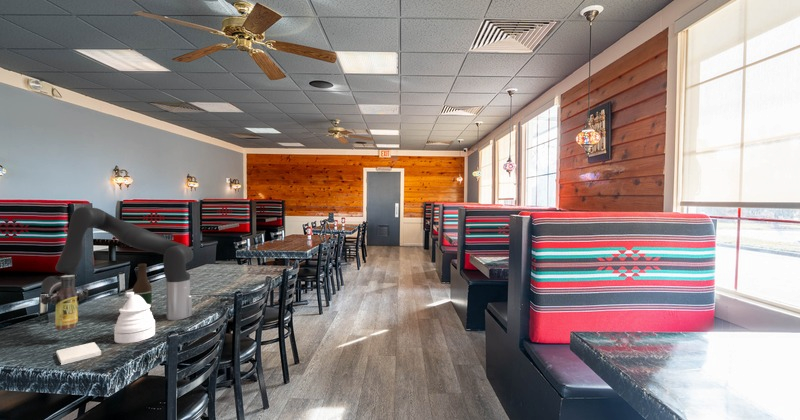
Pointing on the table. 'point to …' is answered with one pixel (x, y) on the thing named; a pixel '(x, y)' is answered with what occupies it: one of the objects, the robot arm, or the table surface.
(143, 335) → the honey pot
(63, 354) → the tile
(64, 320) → the sauce bottle
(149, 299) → the beer bottle
